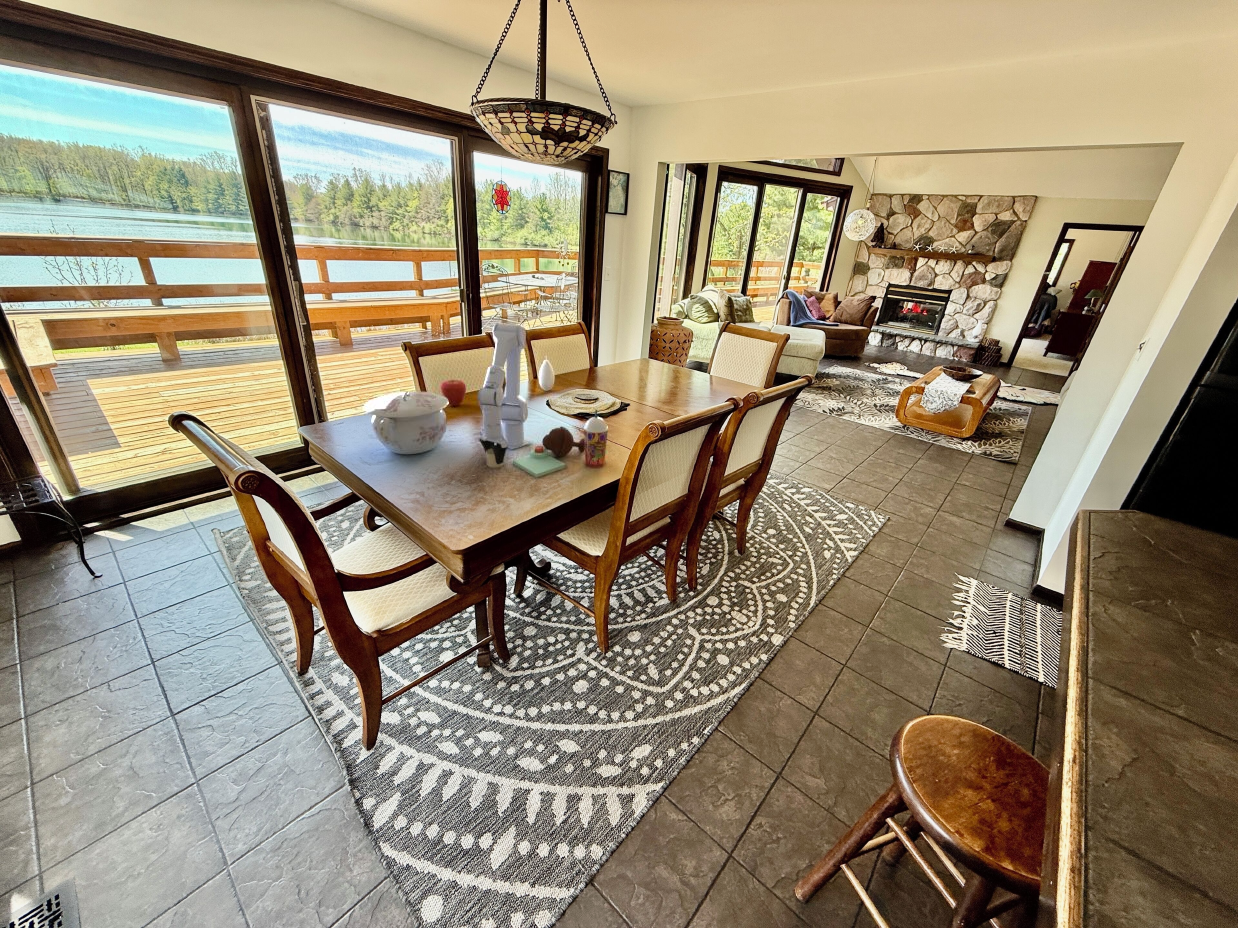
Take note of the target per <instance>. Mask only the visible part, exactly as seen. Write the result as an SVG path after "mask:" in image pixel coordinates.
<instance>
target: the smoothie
mask: <svg viewBox="0 0 1238 928" xmlns="http://www.w3.org/2000/svg"><path fill="white" fill-rule="evenodd" d="M608 432H609V426H608V424H607V422H605V420H604V419H603V418H602V417H599V416H598V409H595V410H594V416H593V417H590V418H588V419H587V420H586V422H585V424H584V425H583V438H584V443H585V450H584V460H585V463H586V465H587V466H588V467H592V468H599V467H602V466H603V465H604V463H605V462H606V451H607V441H608Z"/></svg>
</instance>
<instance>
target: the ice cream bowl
mask: <svg viewBox="0 0 1238 928" xmlns="http://www.w3.org/2000/svg"><path fill="white" fill-rule="evenodd" d="M541 443H542V446H543V448H545V449H547V450H548V451H550V452H551V453H552V454H553V455H554V456H555V457H556V458H561V457H564V456H566V455H568V454H569V453H570V452H572V450H573V447H574V448H577V449H578V452H579V453H580V454H582V453H585V443H584V437H582V438H581V439H580V440H579V441H578V442H577V441H575V440H574V435H573V434H572V433H571V432H570V431H569V429H568V428H566V427H564V426H562V425H561V426H560V427H555V428H551V430H550V431H549V433H548V434H545V436H544V437H542V441H541Z"/></svg>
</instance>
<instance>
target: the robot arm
mask: <svg viewBox="0 0 1238 928" xmlns="http://www.w3.org/2000/svg"><path fill="white" fill-rule="evenodd" d="M526 334H527V332H526V328H525V327H524V325H523V324H513V323H512V324H511V323H500V322H496V323H495V324H494V325H493V326H492V338H493V342H494V344H495V347H494V352H493V360H492V365H490V366H489V367H487V371H486V373H485V379H484V382H483V386H482V387H481V388H480V389H479V390H478V393H477V401H478V405H479V407H480V410H481V411H482V424H483V428H481V429H479V436H481V437H480V438H479V439H478V440H479V442H480V444H481V446H482V448H483V450H484V453H485V454H486V451H487V450H488V449H491V448H492V449H493V452H494V454H495V460H496V463H497V464H501V463H503V461H504V460H505V455H506V452H507V450H508V449H509V450H514V449H517V448H521V447H525V446H528V445H530V442H528V441H526V440H525V429H524V427H525V426H524V423H526V421H527V419H528V416H529V410H528V402H527V400H525V399H524V398H523V397H522V396H521V395H520V394H521V393H520V392H521V356H522V355H521V353H522V350H524V349H526V339H527V335H526ZM505 364H506V366H505ZM504 367H506V369H504ZM505 370H506V371H505ZM504 381H505V396H504V389H503V385H504ZM503 464H504V463H503Z"/></svg>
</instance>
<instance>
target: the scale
mask: <svg viewBox="0 0 1238 928" xmlns="http://www.w3.org/2000/svg"><path fill="white" fill-rule="evenodd" d="M543 449H544V452H543V453H535V447H534V448H532V449H531V450H530V454H527V455H524V456H521V457H518V458H514V459H512V464H513V465H514V466H516V467H518V468H520V469H521V470H523V471H524V472H526V473H528V474H530V475H531V476H532V477H534V478H536V479H537V478H541V477H543V476H545V475H548V474H552V473H555V472H557V471H559V470H564V469H565V468H566V464H565V463H564V462H563V461H560V460H558V459H556V458H554V457H553V456H551V455H549V450H547V449H546V448H545V447H543Z"/></svg>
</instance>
